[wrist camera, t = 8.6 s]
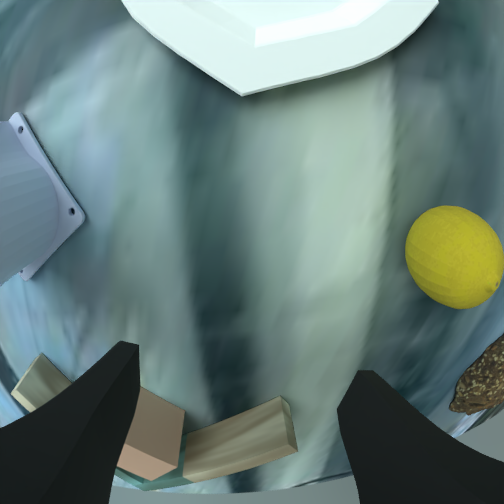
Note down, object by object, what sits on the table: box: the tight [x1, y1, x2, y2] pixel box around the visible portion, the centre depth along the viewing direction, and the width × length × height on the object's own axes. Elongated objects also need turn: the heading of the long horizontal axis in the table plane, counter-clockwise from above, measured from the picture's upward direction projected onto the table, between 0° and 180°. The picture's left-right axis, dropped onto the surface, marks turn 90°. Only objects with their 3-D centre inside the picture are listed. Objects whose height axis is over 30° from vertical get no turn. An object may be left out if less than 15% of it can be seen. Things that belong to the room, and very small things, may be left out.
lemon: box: [405, 206, 504, 309], centre depth 14 cm, size 6×6×8 cm
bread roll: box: [449, 334, 504, 415], centre depth 23 cm, size 13×12×5 cm
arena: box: [11, 353, 298, 491], centre depth 19 cm, size 16×17×5 cm
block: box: [117, 386, 185, 481], centre depth 20 cm, size 4×4×6 cm
